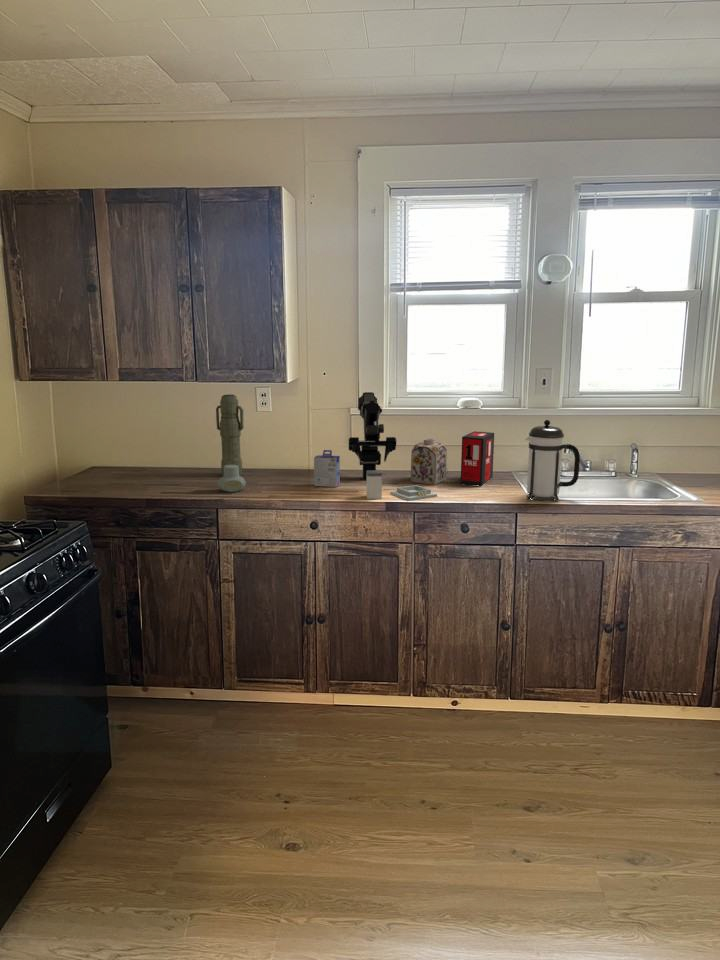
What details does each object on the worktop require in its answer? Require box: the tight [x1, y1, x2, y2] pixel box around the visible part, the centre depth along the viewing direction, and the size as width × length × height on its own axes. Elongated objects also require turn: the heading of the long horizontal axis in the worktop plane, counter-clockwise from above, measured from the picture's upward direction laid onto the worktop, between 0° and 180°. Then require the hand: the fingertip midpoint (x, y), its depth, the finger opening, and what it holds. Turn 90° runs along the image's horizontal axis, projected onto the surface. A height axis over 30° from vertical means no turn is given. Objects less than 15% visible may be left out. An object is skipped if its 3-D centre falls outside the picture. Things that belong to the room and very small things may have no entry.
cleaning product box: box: [460, 431, 495, 487], centre depth 293 cm, size 16×9×20 cm, turn 154°
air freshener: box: [217, 465, 247, 493], centre depth 278 cm, size 11×8×10 cm
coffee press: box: [524, 419, 581, 501], centre depth 265 cm, size 17×16×30 cm
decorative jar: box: [410, 438, 448, 486], centre depth 294 cm, size 12×12×18 cm
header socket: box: [390, 484, 438, 502], centre depth 272 cm, size 13×13×2 cm
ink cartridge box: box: [313, 449, 341, 488], centre depth 287 cm, size 10×6×14 cm, turn 78°
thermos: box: [215, 394, 245, 477], centre depth 304 cm, size 9×12×35 cm
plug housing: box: [365, 469, 383, 500], centre depth 268 cm, size 6×6×10 cm
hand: (373, 461), depth 273 cm, fingers open, 9 cm apart
